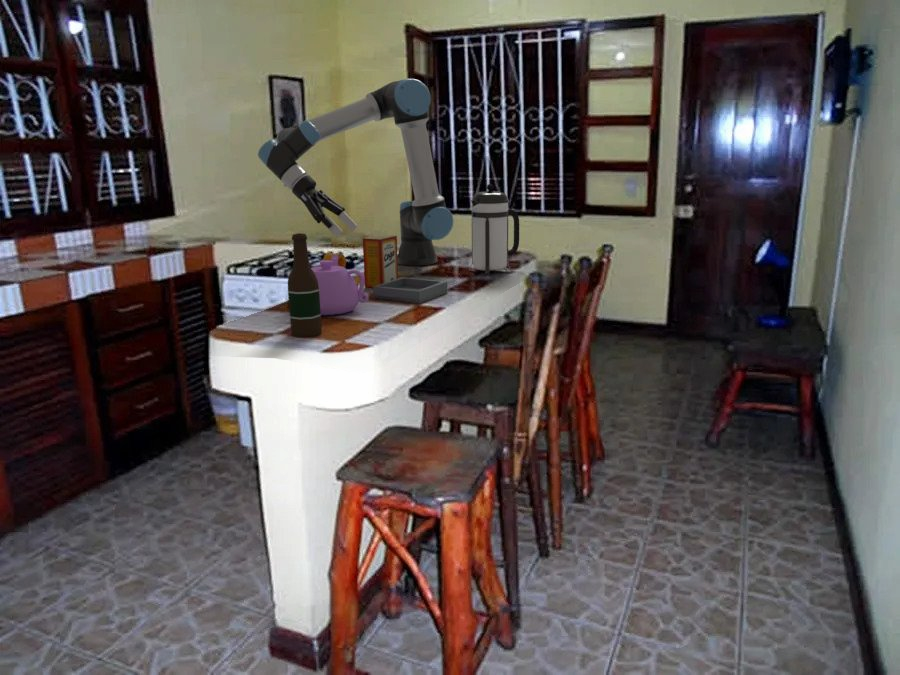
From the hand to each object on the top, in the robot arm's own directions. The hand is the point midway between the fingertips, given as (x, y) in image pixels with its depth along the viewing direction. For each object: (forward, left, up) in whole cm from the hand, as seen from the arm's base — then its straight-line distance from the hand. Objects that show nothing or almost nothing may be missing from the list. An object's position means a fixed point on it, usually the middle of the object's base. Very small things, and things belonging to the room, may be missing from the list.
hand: (347, 231), depth 220 cm
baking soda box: (-3, +10, -17) cm, 20 cm away
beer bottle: (+52, +26, -17) cm, 61 cm away
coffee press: (-41, +31, -17) cm, 54 cm away
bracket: (+11, +4, -18) cm, 21 cm away
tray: (+5, +26, -17) cm, 32 cm away
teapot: (+29, +15, -17) cm, 37 cm away
